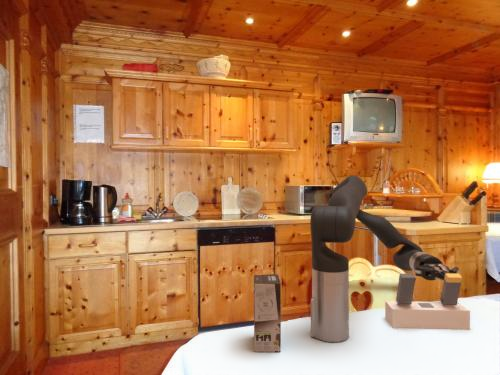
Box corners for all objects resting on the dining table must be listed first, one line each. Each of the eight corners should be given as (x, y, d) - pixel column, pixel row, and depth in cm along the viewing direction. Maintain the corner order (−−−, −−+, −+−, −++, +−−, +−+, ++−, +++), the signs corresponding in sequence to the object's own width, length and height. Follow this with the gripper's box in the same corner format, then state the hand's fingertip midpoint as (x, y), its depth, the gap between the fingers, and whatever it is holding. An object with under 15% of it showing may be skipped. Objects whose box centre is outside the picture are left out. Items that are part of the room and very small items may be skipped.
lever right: (442, 306, 101) (448, 277, 98) (440, 301, 103) (445, 273, 100) (456, 306, 101) (462, 277, 98) (453, 301, 103) (458, 273, 100)
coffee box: (281, 352, 86) (281, 283, 86) (253, 352, 86) (253, 283, 86) (279, 335, 95) (278, 273, 95) (254, 335, 96) (253, 273, 95)
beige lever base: (392, 327, 100) (392, 308, 100) (385, 318, 107) (385, 300, 107) (469, 329, 98) (470, 310, 98) (457, 319, 105) (457, 301, 105)
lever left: (397, 305, 102) (401, 277, 99) (395, 300, 104) (399, 273, 101) (411, 305, 102) (415, 278, 99) (408, 300, 104) (413, 273, 100)
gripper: (403, 253, 118) (425, 264, 101) (446, 253, 117) (475, 265, 100) (404, 277, 118) (425, 292, 101) (447, 277, 117) (476, 292, 100)
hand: (450, 278), depth 101 cm, fingers closed
